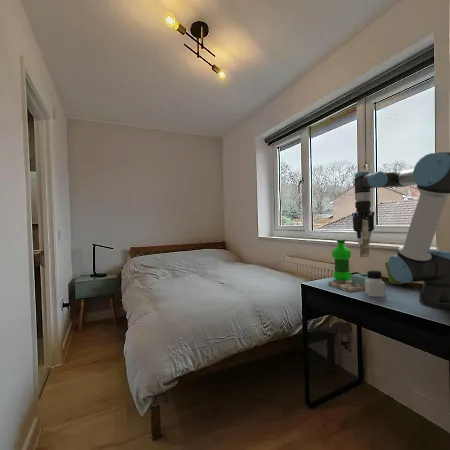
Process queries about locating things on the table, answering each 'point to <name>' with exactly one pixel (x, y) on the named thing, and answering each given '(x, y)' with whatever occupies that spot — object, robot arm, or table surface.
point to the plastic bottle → (341, 261)
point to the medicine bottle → (374, 284)
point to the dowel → (365, 240)
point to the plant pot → (390, 277)
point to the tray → (347, 285)
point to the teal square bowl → (359, 278)
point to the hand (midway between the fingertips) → (364, 243)
